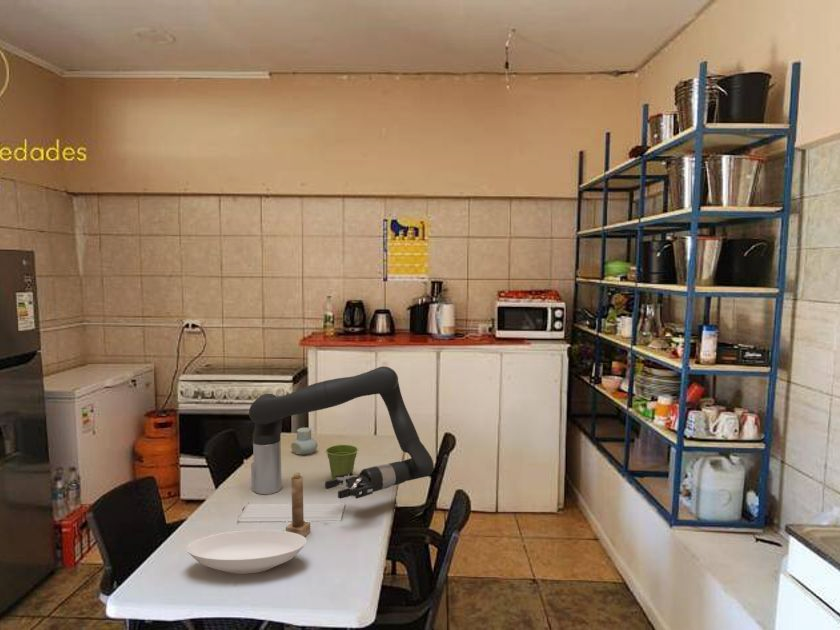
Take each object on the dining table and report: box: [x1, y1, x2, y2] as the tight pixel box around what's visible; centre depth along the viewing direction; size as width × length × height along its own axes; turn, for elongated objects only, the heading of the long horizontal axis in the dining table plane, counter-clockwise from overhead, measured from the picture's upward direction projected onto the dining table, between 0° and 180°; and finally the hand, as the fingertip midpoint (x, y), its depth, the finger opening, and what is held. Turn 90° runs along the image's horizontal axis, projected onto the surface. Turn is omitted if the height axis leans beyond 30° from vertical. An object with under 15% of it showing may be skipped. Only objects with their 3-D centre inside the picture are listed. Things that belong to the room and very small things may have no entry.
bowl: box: [186, 529, 307, 575], centre depth 137 cm, size 30×15×6 cm, turn 94°
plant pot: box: [325, 444, 359, 480], centre depth 195 cm, size 12×12×11 cm
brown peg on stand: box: [285, 472, 311, 538], centre depth 153 cm, size 5×5×18 cm
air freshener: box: [290, 427, 319, 456], centre depth 223 cm, size 11×8×10 cm
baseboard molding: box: [236, 503, 346, 525], centre depth 166 cm, size 31×3×12 cm
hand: (331, 490), depth 160 cm, fingers open, 8 cm apart
